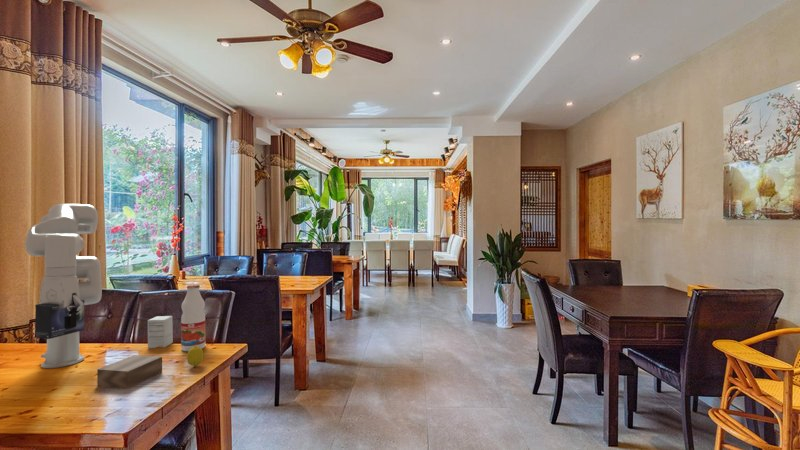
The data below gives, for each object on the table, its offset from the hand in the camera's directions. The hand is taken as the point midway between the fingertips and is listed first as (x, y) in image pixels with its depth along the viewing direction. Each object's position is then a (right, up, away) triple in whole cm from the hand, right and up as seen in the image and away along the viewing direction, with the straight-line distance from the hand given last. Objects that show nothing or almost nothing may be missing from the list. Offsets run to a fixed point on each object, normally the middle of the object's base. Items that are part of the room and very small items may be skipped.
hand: (60, 327), depth 118 cm
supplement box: (+1, -22, +48) cm, 53 cm away
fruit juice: (+18, -22, +44) cm, 52 cm away
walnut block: (+15, -22, +11) cm, 28 cm away
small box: (0, -2, 0) cm, 2 cm away
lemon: (+31, -21, +22) cm, 44 cm away
